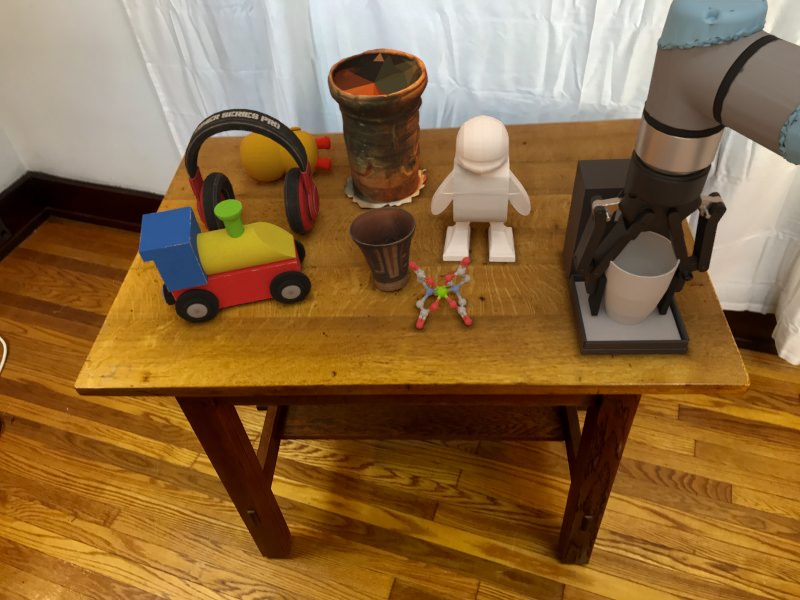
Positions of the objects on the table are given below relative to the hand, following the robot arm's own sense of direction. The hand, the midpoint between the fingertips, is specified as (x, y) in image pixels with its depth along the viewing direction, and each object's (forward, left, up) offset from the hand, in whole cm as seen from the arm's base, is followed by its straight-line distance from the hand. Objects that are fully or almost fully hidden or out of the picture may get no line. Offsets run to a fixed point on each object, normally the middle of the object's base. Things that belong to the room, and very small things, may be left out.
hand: (626, 307), depth 78 cm
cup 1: (+28, +15, -2) cm, 32 cm away
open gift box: (+2, -2, -2) cm, 3 cm away
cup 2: (0, 0, -1) cm, 1 cm away
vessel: (+43, 0, -2) cm, 44 cm away
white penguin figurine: (+23, +1, -2) cm, 24 cm away
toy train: (+42, +31, -2) cm, 52 cm away
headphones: (+50, +20, -2) cm, 54 cm away
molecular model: (+18, +15, -2) cm, 24 cm away
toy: (+59, +8, -2) cm, 59 cm away
